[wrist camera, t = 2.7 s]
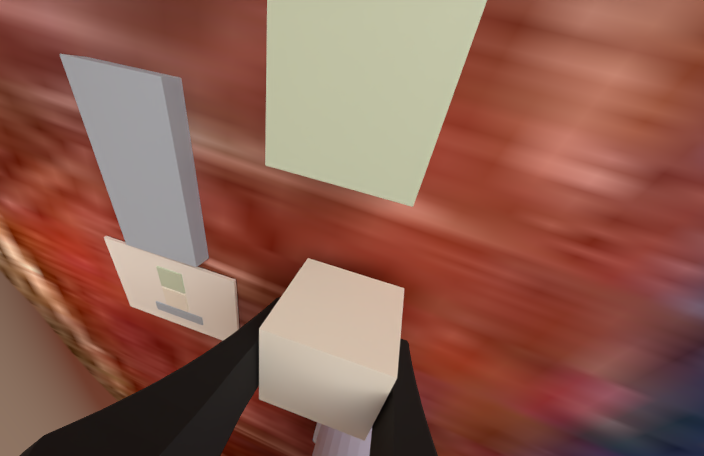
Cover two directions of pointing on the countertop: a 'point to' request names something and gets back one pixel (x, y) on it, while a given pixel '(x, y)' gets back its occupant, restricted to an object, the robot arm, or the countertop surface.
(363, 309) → the brick
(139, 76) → the base brick
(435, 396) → the countertop surface
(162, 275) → the page
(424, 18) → the pale green cube
